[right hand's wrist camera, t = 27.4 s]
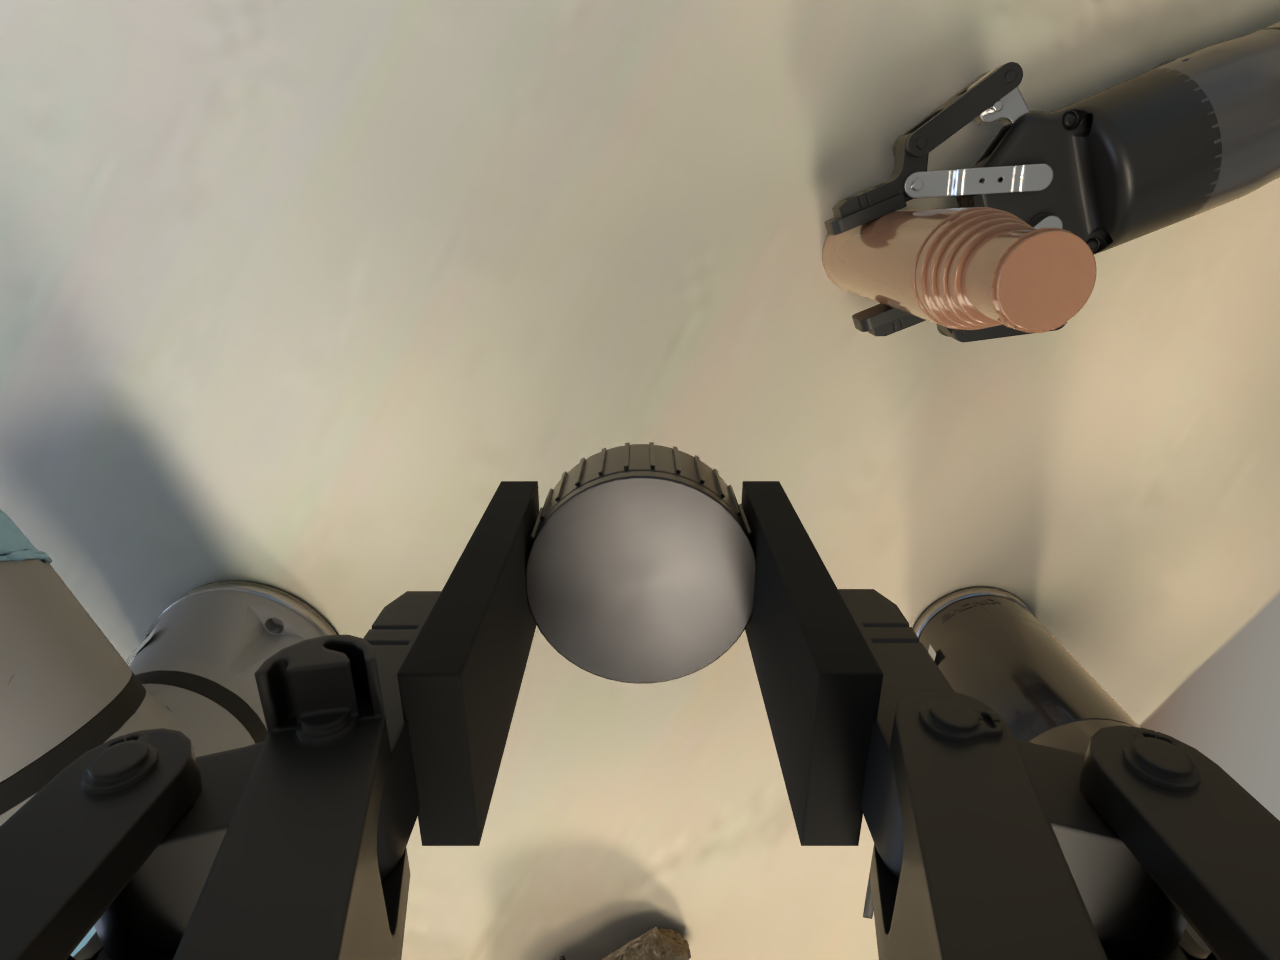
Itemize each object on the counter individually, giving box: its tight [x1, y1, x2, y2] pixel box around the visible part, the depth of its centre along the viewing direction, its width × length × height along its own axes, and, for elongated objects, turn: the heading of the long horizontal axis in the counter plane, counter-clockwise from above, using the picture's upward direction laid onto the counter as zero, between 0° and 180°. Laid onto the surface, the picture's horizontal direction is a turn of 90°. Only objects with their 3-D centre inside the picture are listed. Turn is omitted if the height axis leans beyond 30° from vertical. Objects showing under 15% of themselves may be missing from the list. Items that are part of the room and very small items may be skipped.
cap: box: [525, 442, 756, 683], centre depth 14 cm, size 4×4×2 cm
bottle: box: [823, 207, 1096, 333], centre depth 32 cm, size 5×5×22 cm
